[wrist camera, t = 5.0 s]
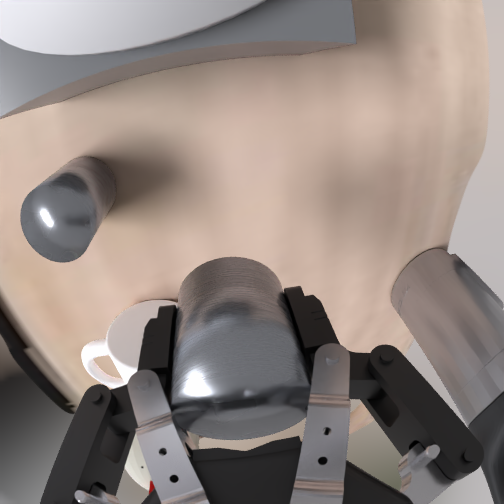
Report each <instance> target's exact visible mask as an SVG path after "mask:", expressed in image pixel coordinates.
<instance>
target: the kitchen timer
mask: <svg viewBox="0 0 504 504" xmlns="http://www.w3.org/2000/svg"><path fill="white" fill-rule="evenodd" d="M188 433H189V435H190V437H191V439H192V441H193V443H194V445H195V447H196V448H197V449H199V446H198V444H199V435H196V434H193V433H191V432H188ZM125 469H126V471H127V472H128V473H129V475H130V476H131V477H132V478H133V479H134V480H135V481H136V482H137V483H138V484H139V485H141V486H142V487H143V488H145V489H147V490H149V494H150V493H151V492H152V490H153V489H154V488H155V486H154V484H153V481H152V479H151V476H150V473H149V471H148V468H147V465H146V462H145V460H144V457H143V454H142V451H141V448H140V445H139V442H138V439H137V435H136V434H135V437H134V440H133V443H132V446H131V449H130V452H129V455H128V458H127V461H126V464H125Z"/></svg>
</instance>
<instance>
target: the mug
mask: <svg viewBox="0 0 504 504" xmlns="http://www.w3.org/2000/svg"><path fill="white" fill-rule="evenodd" d="M167 305H176V307H177V305H178V303H176V302H173V301H169V300H149V301H144V302H141V303H138V304H135V305H133V306H131V307H129V308H127V309H126V310H124V311H123V312H121V313H120V314H119V315H118V316H117V317H116V318H115V319H114V321H113V322H112V323H111V325H110V327H109V329H108V332H107V336H106V338H104V339H98V340H94V341H91V342H89V343H88V344H86V345H85V346H84V348H83V350H82V362H83V365H84V367H85V369H86V370H87V372H88V373H89V374H90V375H91V376H92V377H93V378H95V379H96V380H98V381H99V382H101V383H103V384H105V385H107V386H109V387H111V388H117V387H120V386H123V385H126V384H127V383H128V380H129V379H130V377H131V376H132V375H133V374H134V373H136V372H137V369H138V363H139V357H140V351H141V345H142V339H143V334H144V328H145V326H146V324H147V323H148V321H149V320H150V319H151V318H157V315H158V309H159V307H160V306H167ZM104 355H110V357H111V359H112V361H113V362H114V364H115V366H116V368H117V370H118V371H119V373H120V375H121V376H122V378H116V377H112V376H110V375H108V374H106V373H105V372H103V371H102V370H101V369H100V368H99V367H98V366H97V364H96V363H95V362H94V360H93V359H94V358H96V357H99V356H104Z"/></svg>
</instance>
